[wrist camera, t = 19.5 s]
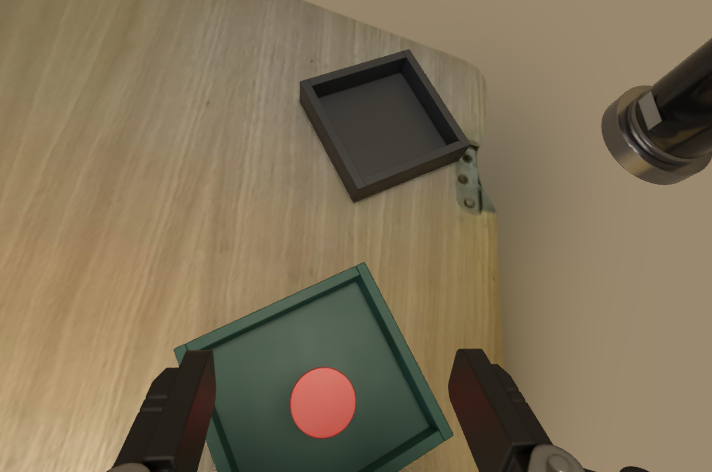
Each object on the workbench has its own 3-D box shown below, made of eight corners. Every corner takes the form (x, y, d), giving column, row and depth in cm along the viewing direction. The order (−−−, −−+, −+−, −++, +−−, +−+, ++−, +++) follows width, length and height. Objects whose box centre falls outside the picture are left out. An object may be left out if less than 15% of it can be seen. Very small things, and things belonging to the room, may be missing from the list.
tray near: (359, 269, 32) (364, 261, 30) (441, 430, 29) (454, 435, 26) (183, 351, 28) (172, 349, 26) (255, 547, 25) (250, 566, 23)
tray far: (402, 68, 40) (409, 48, 38) (459, 159, 37) (471, 144, 35) (299, 100, 37) (299, 81, 35) (353, 202, 34) (357, 189, 32)
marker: (325, 361, 29) (338, 355, 19) (343, 402, 28) (367, 417, 19) (284, 382, 28) (279, 386, 19) (303, 425, 27) (306, 452, 18)
